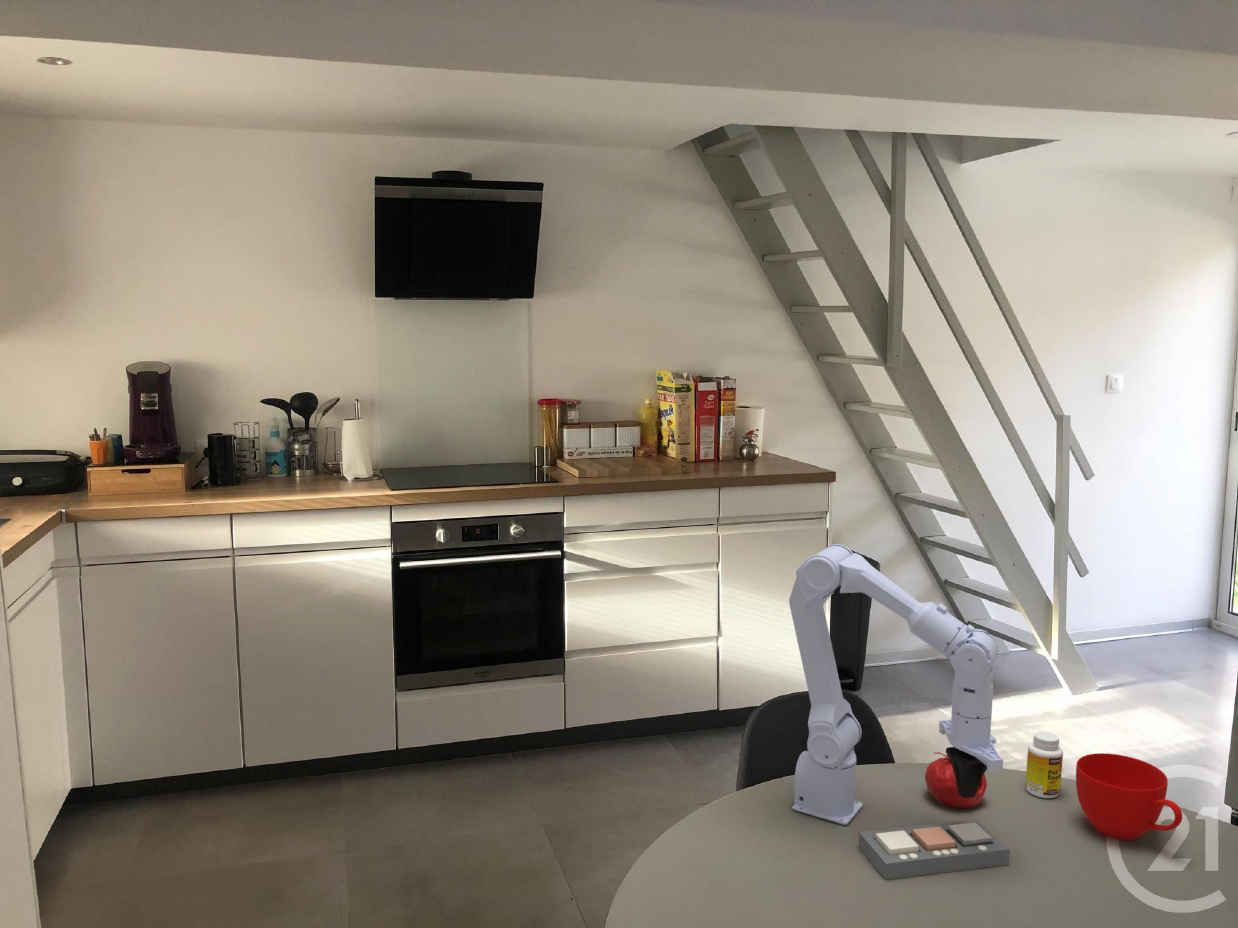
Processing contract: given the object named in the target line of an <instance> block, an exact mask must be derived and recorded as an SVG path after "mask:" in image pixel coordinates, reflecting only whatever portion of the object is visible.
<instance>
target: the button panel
mask: <svg viewBox="0 0 1238 928" xmlns="http://www.w3.org/2000/svg"><path fill="white" fill-rule="evenodd" d="M966 823H976V824H977V825H978V826H979V827H980V828H982V829H983V830H984V831H985V832H986V833H987V834H988V835H989V836H990V837H992V841H991V844H985V845H977V846H968V847H962V846H961V845H960V844H959V843H958V842H957V841H956V840H955V839H954V838H953V837H952V836H951V835H950V834H949V833H948V825H957V824H966ZM939 826H940V827H941V828H942V829H943V830H944V831H945V832H946V833H947V834H948V835H949V836H950V837H951V838H952V839H953V840H954V841H955V842H956V843H955V848H951V849H943V850H934V851H925V850H924V848H923V847H922V846H921V845H920V844H919V843H918V842H917V841H916V840H915V839H914V838H913V837H912V829H921V828H930V827H939ZM903 830H904V831H905V832H906V833H907V834H908V835H909V836H910V837H911V838H912V840H913V841H914V842H915V843H916V844H917V845H918V846H919V852H917V853H908V854H900V855H891V856H889V855H888V854H887V853H886V852H885V851H884V850H883V848H882V847H881V846H880V845H879V844H878V843H877V842H876V833H885V832H894V831H903ZM857 846H858V849H859V850H860V851H861V852H862V854H863V855H864V856H865V858H867V860H868V861H869V862H870V863H871V864H872V865H873V866H874V868H875V869H876V870H877V871H878V873H879V874H880V875H881V876H882V878H883V879H884V880H886V881H887V880H893V879H901V878H902V879H903V878H909V877H911V878H912V877H919V876H925V875H926V876H927V875H933V874H934V875H935V874H942V873H950V872H953V873H954V872H958V871H959V872H960V871H966V870H967V871H969V870H975V869H983V868H984V869H985V868H991V867H992V868H993V867H1002V866H1008V865H1010V858H1011V857H1010V856H1011V849H1010V847H1008V846H1007V845H1006V844H1005V843H1004V842H1003V841H1002V840H1000V838H998V837H997V836H996V835H995V834H994V833H993V832H992V831H991V830H990V829H989V828H988V827H986V826H985V825H984V824H983V823H982V822H981V821H979V820H978V819H977V818H976V819H974V818H973V819H966V820H959V821H958V820H956V821H947V822H937V823H930V824H920V825H913V826H903V827H894V828H887V829H886V828H884V829H877V830H865V831H859V832H858V845H857Z"/></svg>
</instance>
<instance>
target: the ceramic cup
mask: <svg viewBox="0 0 1238 928" xmlns="http://www.w3.org/2000/svg"><path fill="white" fill-rule="evenodd" d="M1075 767H1076V768H1075V786H1076V794H1077V799H1078V802H1079V805H1080V807H1081V809H1082V811H1083V814H1084V815H1085V817H1086V818H1087V820H1088V821H1089V822H1090V823H1091V825H1092V826H1093V828H1094V829H1095V831H1097V832H1098V833H1099V834H1101V835H1104V836H1105V837H1108V838H1110V839H1114V840H1120V841H1133V840H1136V839H1138V838H1139V837H1141V836H1142V835H1144V834H1145V833H1147V832H1148V831H1149V830H1154V831H1162V832H1164V831H1171V830H1173V829H1176V828H1178V827H1179V825H1181V823H1182V821H1183V813H1182V809H1181V808H1180V805H1178V804H1177V803H1176V802H1175V801H1172V800H1170V799H1166V796H1167V790H1168V786H1169V785H1168V783H1169V782H1168V781H1169V779H1168V776H1167V775H1166V773H1164V772H1163V771H1162V770H1161V769H1159V768H1158V767H1156V766H1155V765H1153V764H1151V763H1149V762H1146V761H1144V760H1140V759H1138V758H1135V757H1132V756H1128V755H1121V754H1118V753H1117V754H1116V753H1107V752H1106V753H1103V752H1102V753H1100V752H1097V753H1091V754H1090V753H1089V754H1085V755H1083V756H1081V757H1080V758H1079V759H1078V760H1077V761H1076V765H1075ZM1164 806H1168V807H1169V808H1170V809H1171V810H1172V811H1173V814H1174V820H1173V822H1172V823H1170V824H1168V825H1164V824H1163V825H1162V824H1157V821H1158V819H1159V817H1160V816H1161V813H1162V811H1163V808H1164Z"/></svg>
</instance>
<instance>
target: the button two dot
mask: <svg viewBox="0 0 1238 928" xmlns="http://www.w3.org/2000/svg"><path fill="white" fill-rule="evenodd" d="M876 842H877V843H878V844H879V845H880V846H881V847H882V848H883V850H884V851H885V852H886V853H887V854H888V855H889V856H891V855H900V854H908V853H917V852H919V846H918V845H917V844H916V843H915V842H914V841H913V840H912V838H911V837H910V836H909V835H908V834H907V833H906V832H905V831H904V830H903V831H894V832H885V833H876Z"/></svg>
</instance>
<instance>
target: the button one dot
mask: <svg viewBox="0 0 1238 928" xmlns="http://www.w3.org/2000/svg"><path fill="white" fill-rule="evenodd" d="M948 833H949V834H950V835H951V836H952V837H953V838H954V839H955V840H956V841H957V842H958V843H959V844H960V845H961V846H962V847H968V846H977V845H985V844H991V841H992V837H990V836H989V835H988V834H987V833H986V832H985V831H984V830H983V829H982V828H980V827H979V826H978V825H977V824H976V823H966V824H957V825H948Z"/></svg>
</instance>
